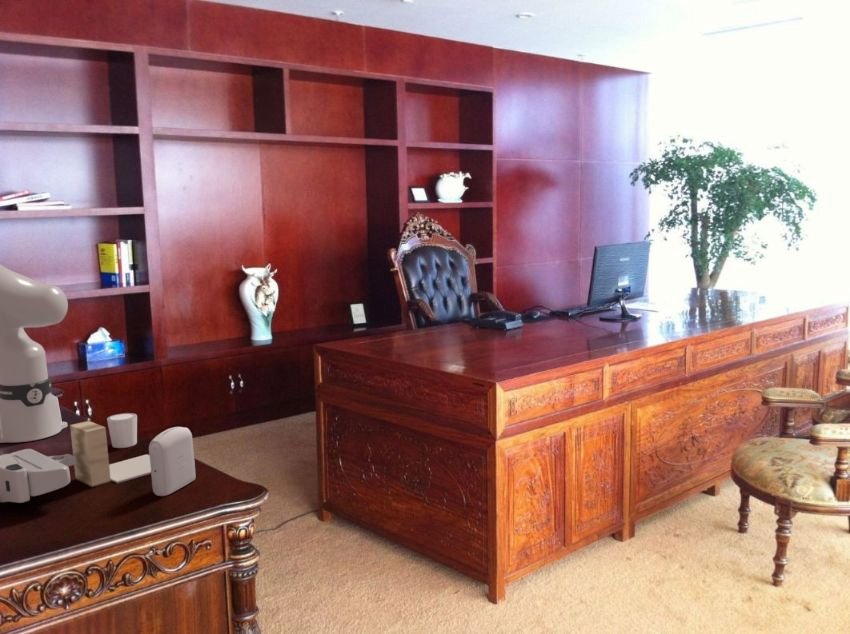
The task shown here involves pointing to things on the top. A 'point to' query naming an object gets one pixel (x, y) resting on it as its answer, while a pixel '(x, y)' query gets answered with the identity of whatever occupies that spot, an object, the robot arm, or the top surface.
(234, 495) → the top surface
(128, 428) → the white tapered cup
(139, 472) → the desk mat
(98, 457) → the oak block
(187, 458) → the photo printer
